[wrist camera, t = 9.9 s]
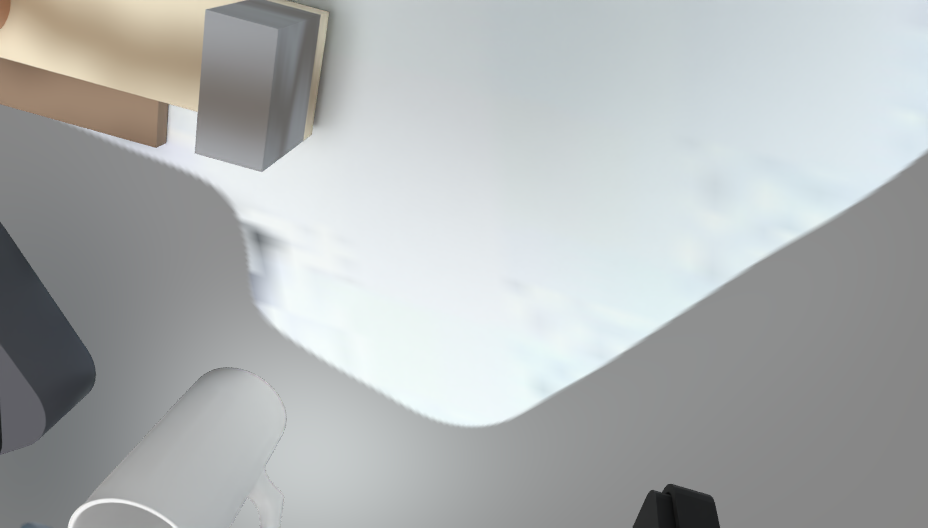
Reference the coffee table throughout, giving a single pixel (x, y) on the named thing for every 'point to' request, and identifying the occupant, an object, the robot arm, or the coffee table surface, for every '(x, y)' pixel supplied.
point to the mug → (198, 461)
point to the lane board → (83, 103)
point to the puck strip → (189, 62)
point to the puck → (4, 11)
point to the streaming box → (35, 354)
